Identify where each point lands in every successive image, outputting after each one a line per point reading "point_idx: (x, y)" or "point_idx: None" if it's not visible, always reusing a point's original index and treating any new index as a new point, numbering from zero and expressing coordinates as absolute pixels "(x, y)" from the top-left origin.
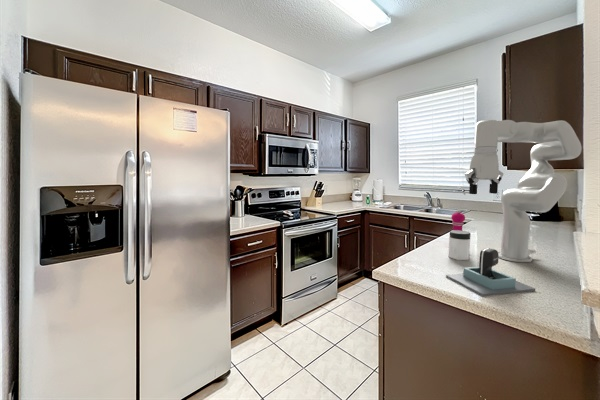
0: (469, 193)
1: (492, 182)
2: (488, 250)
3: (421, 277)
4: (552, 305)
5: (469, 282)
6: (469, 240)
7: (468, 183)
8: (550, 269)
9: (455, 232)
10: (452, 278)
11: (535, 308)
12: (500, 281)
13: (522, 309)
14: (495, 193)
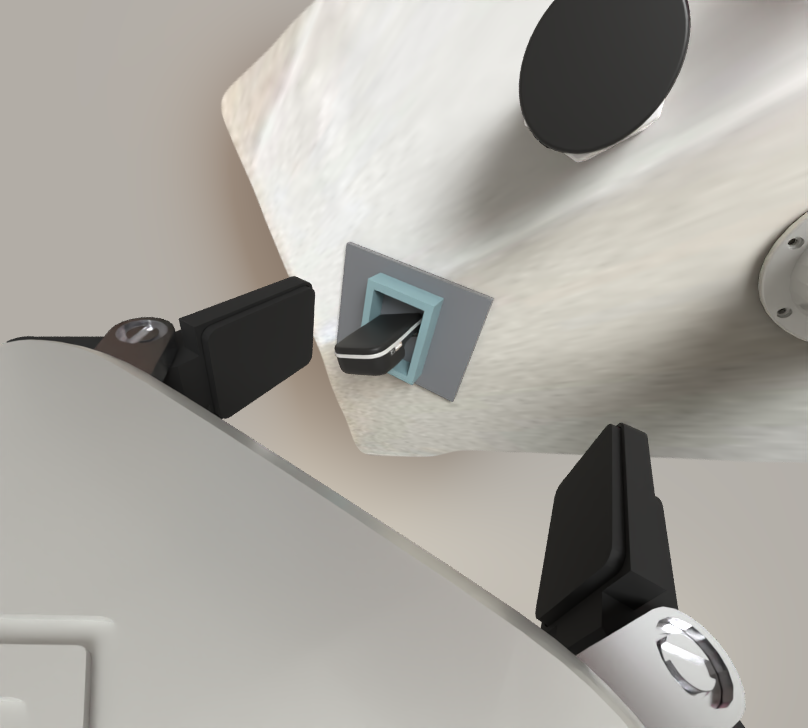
0: (297, 278)
1: (585, 633)
2: (346, 364)
3: (295, 208)
4: (411, 424)
5: (358, 304)
6: (579, 161)
7: (141, 322)
8: (738, 409)
9: (542, 67)
10: (344, 266)
11: (376, 407)
12: None
13: (356, 395)
14: (564, 487)
